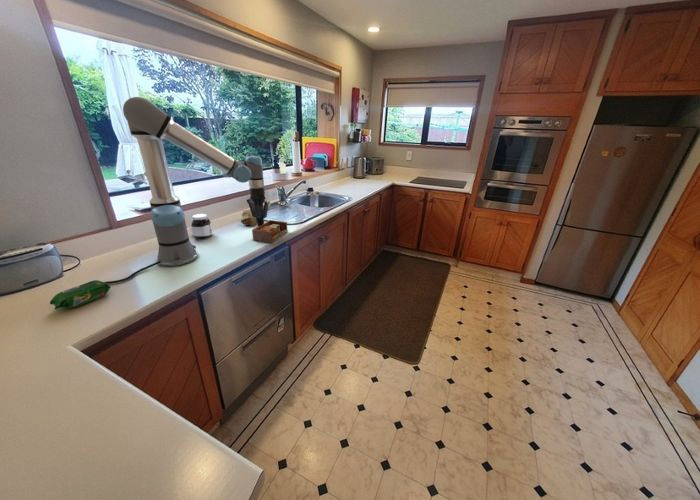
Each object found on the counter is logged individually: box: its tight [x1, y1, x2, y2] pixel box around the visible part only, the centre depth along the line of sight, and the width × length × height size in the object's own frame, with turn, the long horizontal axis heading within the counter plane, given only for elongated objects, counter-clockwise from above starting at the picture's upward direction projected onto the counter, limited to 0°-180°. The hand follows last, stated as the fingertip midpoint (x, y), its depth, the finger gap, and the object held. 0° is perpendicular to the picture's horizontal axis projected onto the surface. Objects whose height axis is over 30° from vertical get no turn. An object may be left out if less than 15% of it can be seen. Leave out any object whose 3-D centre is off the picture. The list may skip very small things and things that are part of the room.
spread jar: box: [189, 213, 213, 240], centre depth 150 cm, size 12×11×12 cm
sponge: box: [240, 209, 257, 227], centre depth 176 cm, size 13×8×20 cm
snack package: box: [49, 279, 112, 310], centre depth 94 cm, size 7×16×5 cm, turn 153°
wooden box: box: [251, 219, 289, 244], centre depth 155 cm, size 18×11×6 cm, turn 164°
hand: (260, 229), depth 156 cm, fingers closed
